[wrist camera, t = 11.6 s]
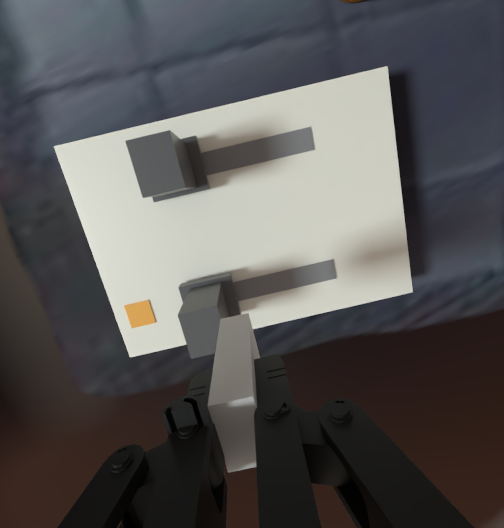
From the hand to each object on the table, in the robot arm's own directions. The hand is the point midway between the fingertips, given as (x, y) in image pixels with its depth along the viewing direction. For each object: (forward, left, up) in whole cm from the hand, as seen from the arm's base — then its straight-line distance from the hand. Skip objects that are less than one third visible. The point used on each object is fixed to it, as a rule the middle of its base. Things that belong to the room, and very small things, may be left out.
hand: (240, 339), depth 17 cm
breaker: (+2, -10, -9) cm, 13 cm away
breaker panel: (-2, -5, -12) cm, 13 cm away
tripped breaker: (+2, 0, -9) cm, 9 cm away
